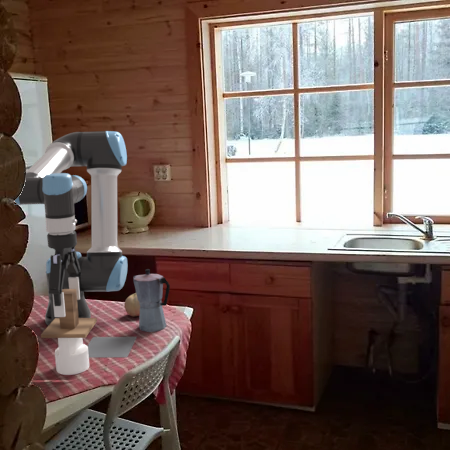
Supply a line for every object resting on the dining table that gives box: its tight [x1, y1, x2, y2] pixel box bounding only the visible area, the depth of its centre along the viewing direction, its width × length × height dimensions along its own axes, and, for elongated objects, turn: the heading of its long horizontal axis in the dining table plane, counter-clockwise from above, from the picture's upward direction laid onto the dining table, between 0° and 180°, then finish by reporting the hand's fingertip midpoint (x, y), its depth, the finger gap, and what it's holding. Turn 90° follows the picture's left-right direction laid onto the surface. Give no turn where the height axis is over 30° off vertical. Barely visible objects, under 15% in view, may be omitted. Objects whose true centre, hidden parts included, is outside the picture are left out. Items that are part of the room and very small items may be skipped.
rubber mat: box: [87, 336, 138, 359], centre depth 178 cm, size 15×14×1 cm
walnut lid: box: [40, 289, 98, 339], centre depth 161 cm, size 12×12×11 cm
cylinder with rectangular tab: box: [54, 338, 90, 376], centre depth 163 cm, size 9×9×12 cm
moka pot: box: [132, 268, 171, 333], centre depth 191 cm, size 10×15×20 cm, turn 59°
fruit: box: [124, 292, 140, 317], centre depth 204 cm, size 8×8×8 cm
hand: (67, 307), depth 161 cm, fingers open, 13 cm apart
